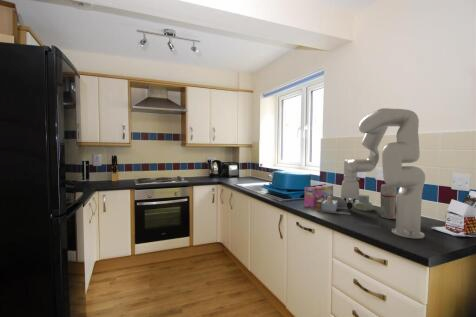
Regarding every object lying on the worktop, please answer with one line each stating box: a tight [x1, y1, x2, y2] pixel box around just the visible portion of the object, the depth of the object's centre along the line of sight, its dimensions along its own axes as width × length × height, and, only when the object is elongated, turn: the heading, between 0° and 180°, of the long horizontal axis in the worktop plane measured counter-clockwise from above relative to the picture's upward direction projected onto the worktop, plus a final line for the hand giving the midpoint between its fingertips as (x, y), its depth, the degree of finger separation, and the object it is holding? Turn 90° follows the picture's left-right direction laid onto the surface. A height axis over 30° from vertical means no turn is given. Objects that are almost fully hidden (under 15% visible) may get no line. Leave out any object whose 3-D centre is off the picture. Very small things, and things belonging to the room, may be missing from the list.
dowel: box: [327, 196, 332, 204], centre depth 156 cm, size 3×3×9 cm
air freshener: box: [353, 194, 374, 212], centre depth 162 cm, size 11×8×10 cm
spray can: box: [380, 183, 398, 220], centre depth 146 cm, size 8×8×20 cm
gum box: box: [303, 183, 334, 208], centre depth 176 cm, size 24×8×14 cm, turn 127°
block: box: [321, 199, 338, 212], centre depth 159 cm, size 12×8×5 cm, turn 153°
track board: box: [321, 206, 353, 216], centre depth 158 cm, size 15×19×2 cm
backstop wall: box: [315, 197, 325, 213], centre depth 161 cm, size 15×2×6 cm, turn 153°
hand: (349, 208), depth 157 cm, fingers closed
